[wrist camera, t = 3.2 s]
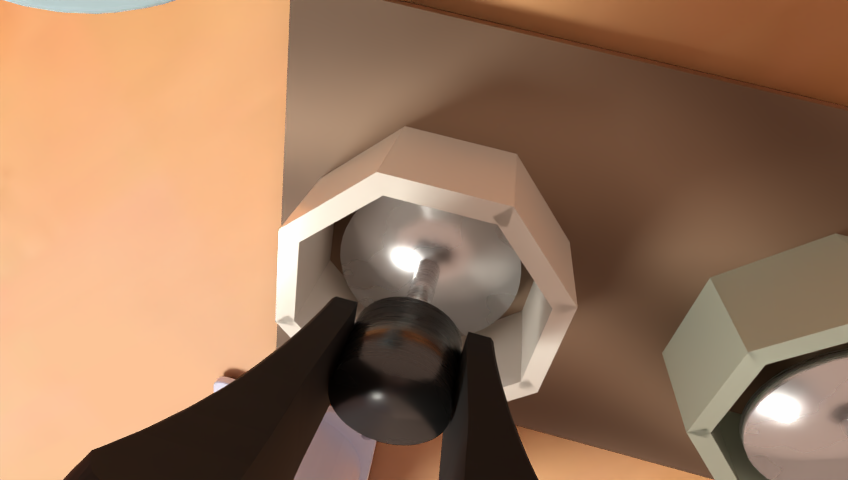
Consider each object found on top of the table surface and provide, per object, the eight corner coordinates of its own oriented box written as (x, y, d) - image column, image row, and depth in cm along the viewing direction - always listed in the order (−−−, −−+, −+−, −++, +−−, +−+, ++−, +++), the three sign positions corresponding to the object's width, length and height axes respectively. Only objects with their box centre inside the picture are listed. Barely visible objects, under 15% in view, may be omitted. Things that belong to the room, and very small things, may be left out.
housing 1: (517, 366, 20) (514, 440, 17) (309, 310, 20) (273, 374, 17) (598, 174, 15) (613, 232, 12) (326, 106, 16) (281, 147, 13)
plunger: (493, 348, 19) (480, 505, 14) (336, 306, 19) (266, 445, 14) (546, 208, 15) (554, 348, 10) (354, 160, 16) (270, 273, 11)
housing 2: (854, 456, 19) (910, 549, 16) (633, 397, 20) (651, 478, 17) (1044, 285, 15) (1169, 372, 12) (751, 212, 15) (803, 279, 12)
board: (826, 498, 21) (833, 512, 21) (281, 349, 23) (275, 359, 22) (1183, 186, 13) (1209, 197, 13) (299, -24, 14) (291, -22, 14)
